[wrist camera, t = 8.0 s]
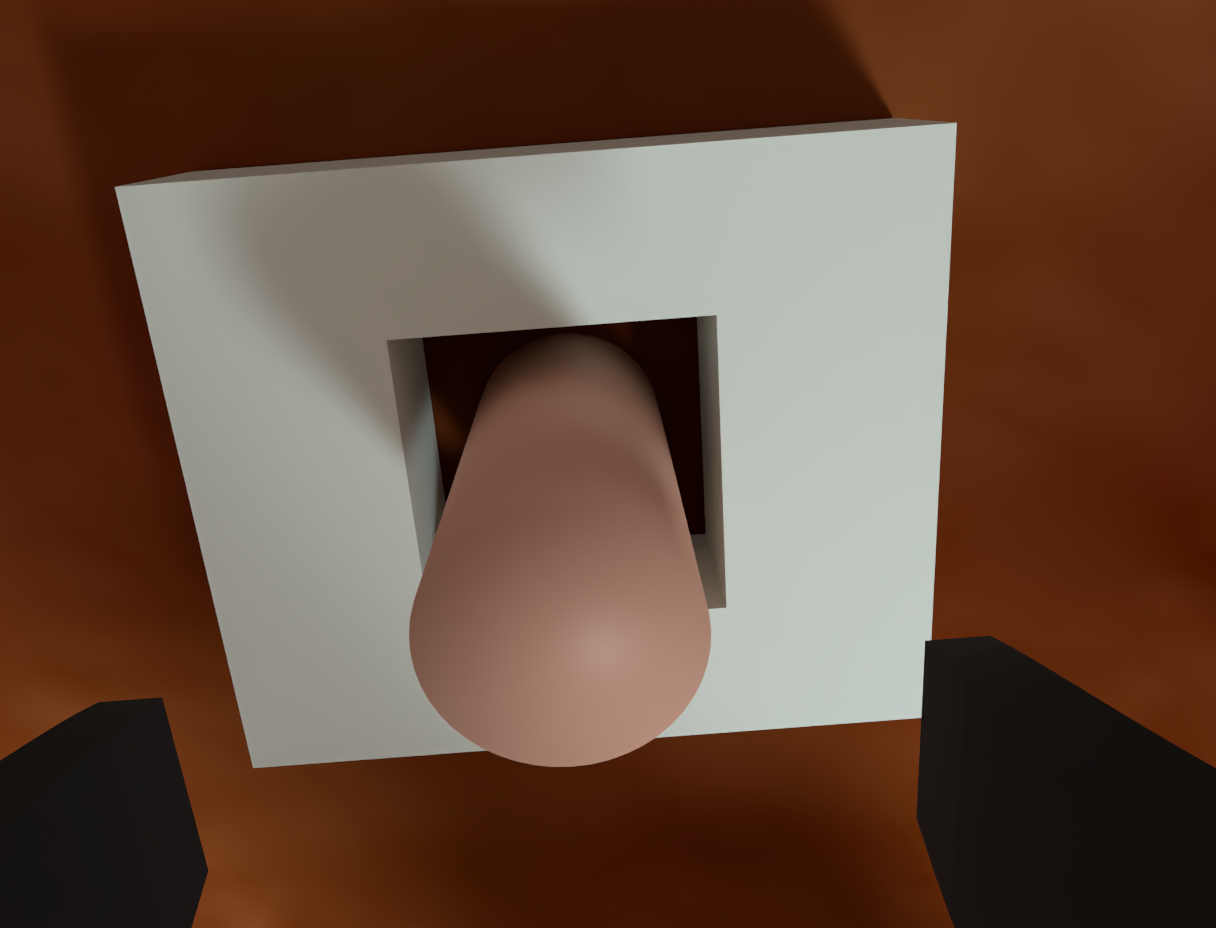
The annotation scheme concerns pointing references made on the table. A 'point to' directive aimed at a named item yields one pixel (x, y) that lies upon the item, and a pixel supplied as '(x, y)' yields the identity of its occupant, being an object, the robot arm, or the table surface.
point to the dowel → (562, 566)
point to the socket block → (546, 298)
